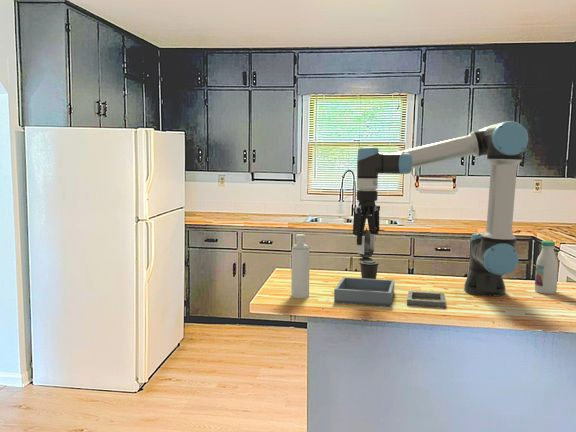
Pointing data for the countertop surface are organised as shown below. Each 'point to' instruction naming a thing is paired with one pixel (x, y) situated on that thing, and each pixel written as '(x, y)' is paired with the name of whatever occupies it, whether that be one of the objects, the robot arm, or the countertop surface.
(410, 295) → the collar
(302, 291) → the white plastic bottle
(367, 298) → the bin
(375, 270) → the coffee cup
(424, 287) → the countertop surface
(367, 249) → the dark grey tall piece
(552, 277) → the milk bottle
